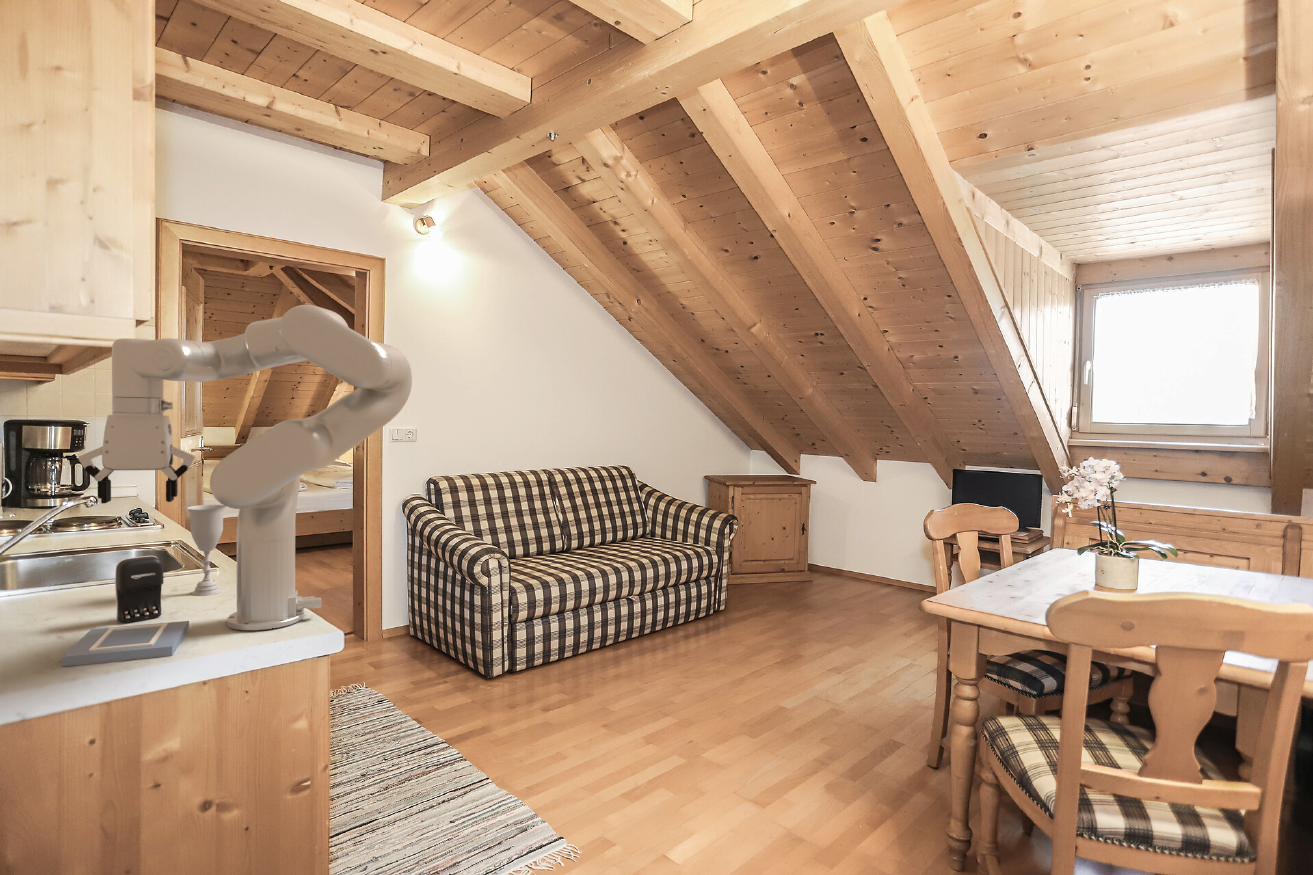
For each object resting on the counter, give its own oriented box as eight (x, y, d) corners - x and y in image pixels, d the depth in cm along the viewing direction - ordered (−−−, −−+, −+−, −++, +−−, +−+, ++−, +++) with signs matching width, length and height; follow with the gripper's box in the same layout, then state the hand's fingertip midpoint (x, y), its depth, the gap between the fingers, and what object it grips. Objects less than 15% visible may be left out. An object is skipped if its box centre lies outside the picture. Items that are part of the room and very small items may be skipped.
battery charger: (120, 626, 127) (119, 562, 127) (114, 621, 130) (113, 559, 129) (166, 617, 133) (165, 556, 132) (159, 613, 135) (159, 553, 135)
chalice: (184, 591, 150) (184, 506, 150) (221, 586, 155) (221, 503, 154) (191, 598, 145) (190, 510, 144) (229, 593, 150) (229, 508, 149)
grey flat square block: (189, 629, 127) (188, 619, 127) (172, 655, 114) (172, 644, 114) (91, 637, 121) (91, 627, 121) (62, 666, 108) (62, 654, 108)
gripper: (198, 408, 136) (198, 497, 137) (85, 406, 129) (86, 500, 130) (190, 409, 129) (190, 503, 130) (71, 406, 122) (72, 506, 123)
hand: (138, 501), depth 130 cm, fingers open, 9 cm apart
